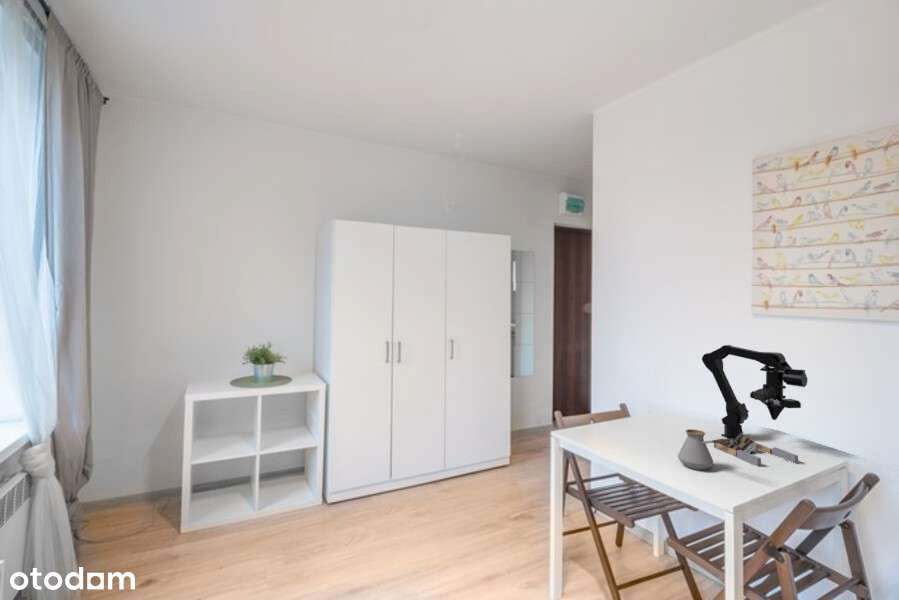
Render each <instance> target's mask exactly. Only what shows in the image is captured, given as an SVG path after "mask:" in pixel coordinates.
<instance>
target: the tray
mask: <svg viewBox="0 0 899 600" xmlns="http://www.w3.org/2000/svg"><path fill="white" fill-rule="evenodd" d="M731 442H732V441H730V442H723V443H713V448H715V449H718V450H720V451H723V452H724V453H726V454H729V455H732V456H733V457H736V458H737V451H736V450H734V449H731V448H729V447H727V446H728V445H729V444H730V443H731ZM756 448H757V449H756V450H758V449H760V450H759V451H761V450H762V451H761V452H763V451H765V452H764V453H766V452H768V453H767V454H769V453H770V454H769V455H772V454H773V448H770V447H768V446H765V445H762V444H759V443H758V442H756ZM771 453H772V454H771Z"/></svg>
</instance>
